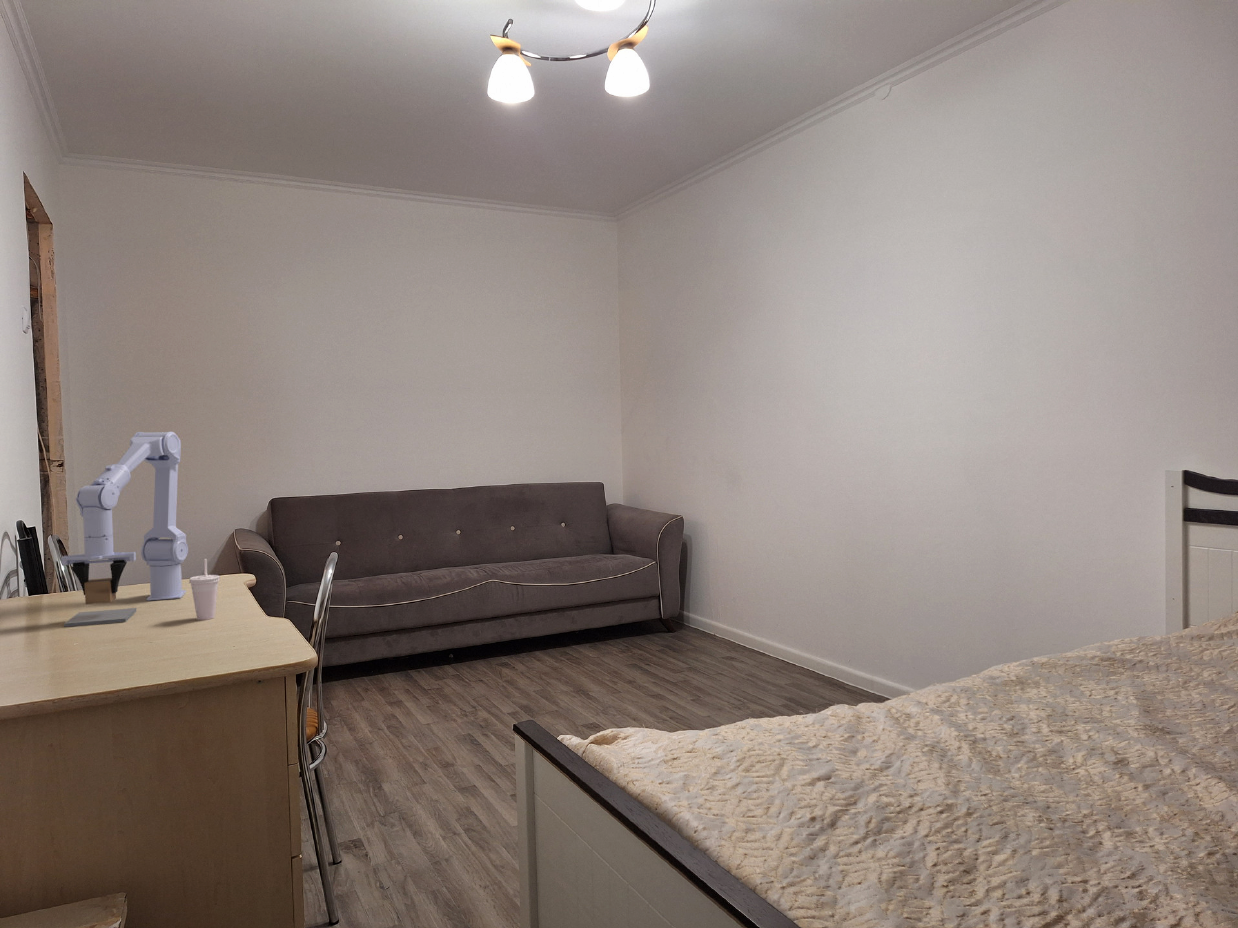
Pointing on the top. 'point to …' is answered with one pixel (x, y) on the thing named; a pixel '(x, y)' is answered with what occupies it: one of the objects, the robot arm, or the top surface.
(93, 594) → the walnut cube
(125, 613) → the coaster
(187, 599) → the top surface
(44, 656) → the top surface
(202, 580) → the smoothie
